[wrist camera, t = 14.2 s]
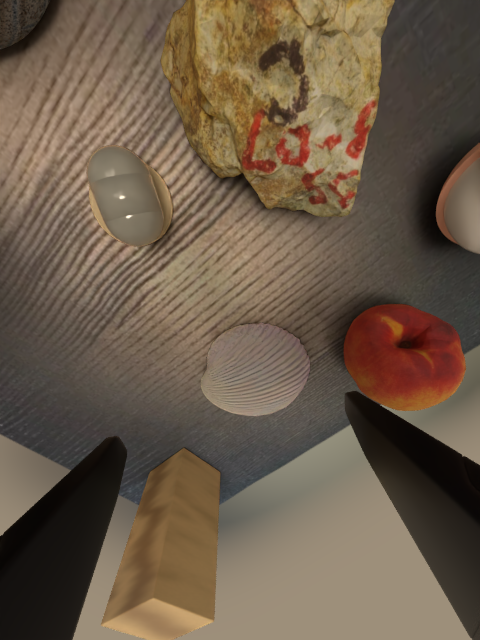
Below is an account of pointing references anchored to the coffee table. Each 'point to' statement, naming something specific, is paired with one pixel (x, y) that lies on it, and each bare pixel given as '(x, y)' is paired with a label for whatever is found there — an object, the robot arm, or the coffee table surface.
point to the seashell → (255, 369)
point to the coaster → (162, 195)
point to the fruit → (404, 357)
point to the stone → (125, 195)
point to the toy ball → (462, 203)
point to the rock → (280, 93)
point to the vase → (19, 19)
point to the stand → (170, 554)
